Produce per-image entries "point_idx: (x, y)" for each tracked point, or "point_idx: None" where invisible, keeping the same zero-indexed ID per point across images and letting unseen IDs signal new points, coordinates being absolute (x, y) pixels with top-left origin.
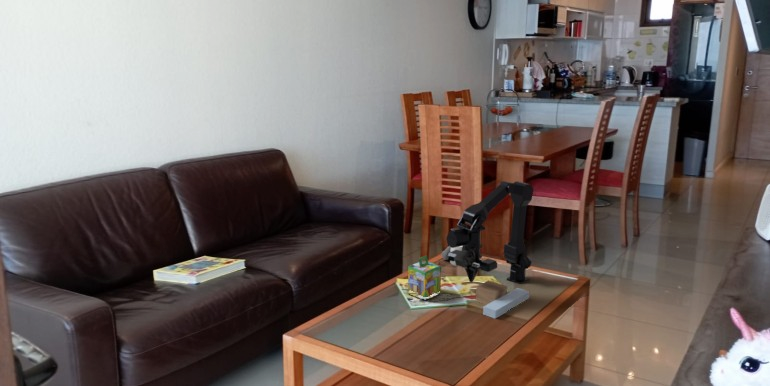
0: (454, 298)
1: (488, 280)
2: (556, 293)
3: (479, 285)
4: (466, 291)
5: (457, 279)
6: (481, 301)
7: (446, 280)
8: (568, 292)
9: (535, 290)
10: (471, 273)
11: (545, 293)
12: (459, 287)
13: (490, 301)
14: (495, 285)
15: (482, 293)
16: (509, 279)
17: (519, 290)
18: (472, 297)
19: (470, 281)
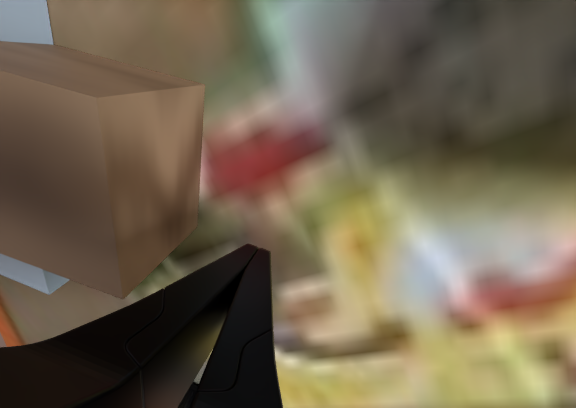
0: (395, 53)
1: (122, 298)
2: (16, 315)
3: (102, 159)
4: (338, 231)
5: (451, 375)
6: (146, 71)
7: (537, 355)
8: (2, 329)
9: (75, 323)
10: (163, 314)
11: (36, 308)
12: (407, 276)
13: (47, 51)
14: (14, 218)
15: (73, 72)
16: (193, 389)
17: (20, 267)
18: (260, 149)
19: (256, 249)
